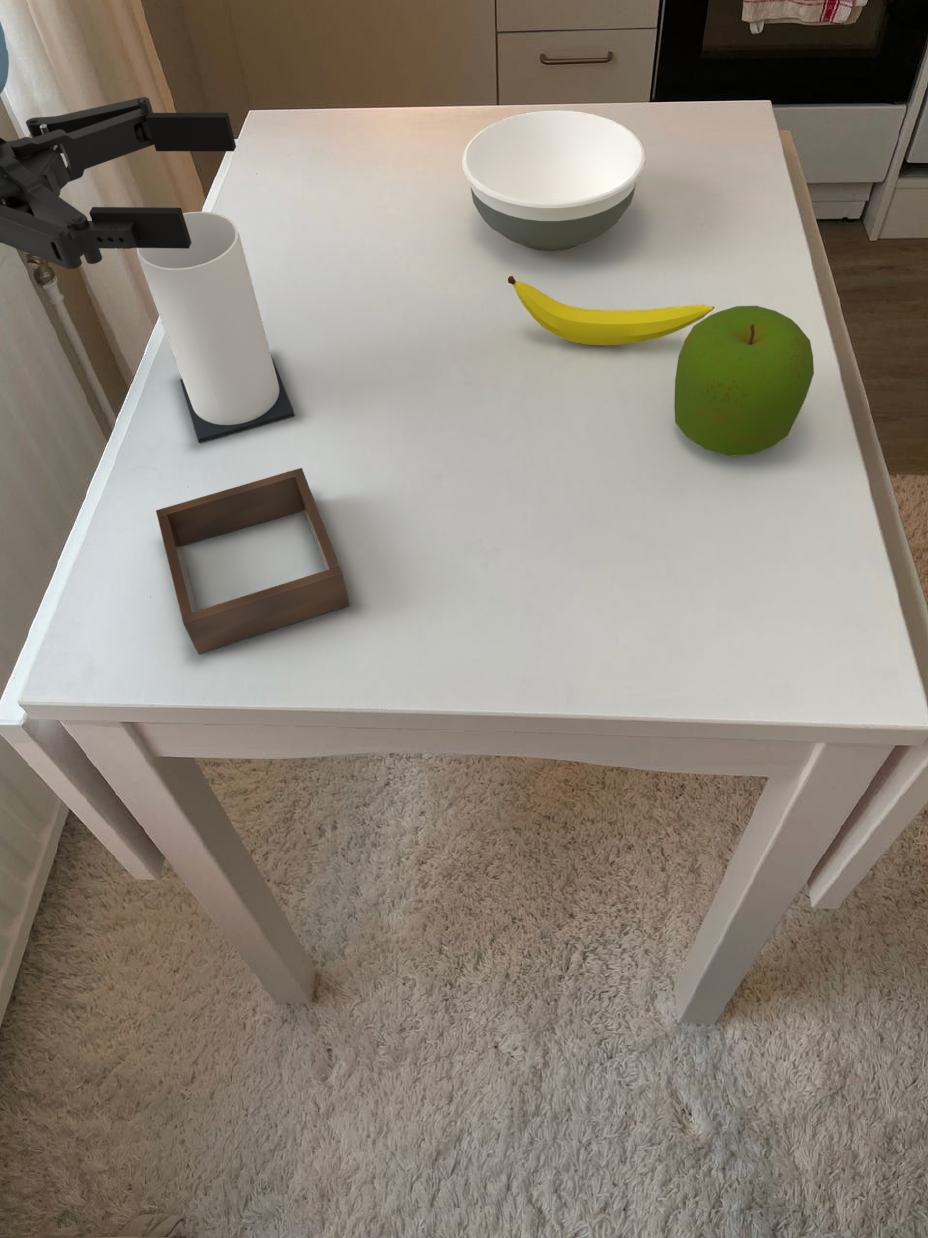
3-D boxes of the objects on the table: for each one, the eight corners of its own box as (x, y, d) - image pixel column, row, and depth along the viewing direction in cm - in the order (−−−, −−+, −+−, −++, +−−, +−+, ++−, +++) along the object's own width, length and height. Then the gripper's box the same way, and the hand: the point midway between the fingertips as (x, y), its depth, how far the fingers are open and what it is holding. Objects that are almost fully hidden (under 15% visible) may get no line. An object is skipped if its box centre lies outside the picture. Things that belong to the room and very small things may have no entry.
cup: (287, 367, 91) (249, 211, 78) (268, 426, 86) (224, 270, 73) (204, 365, 92) (153, 210, 79) (181, 423, 87) (122, 268, 74)
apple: (773, 486, 80) (804, 383, 71) (650, 449, 83) (666, 347, 74) (808, 403, 85) (841, 299, 77) (692, 372, 89) (711, 269, 80)
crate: (198, 654, 72) (183, 623, 69) (170, 542, 79) (155, 510, 76) (350, 605, 74) (342, 573, 71) (310, 501, 81) (301, 467, 78)
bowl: (450, 196, 108) (446, 123, 102) (609, 171, 110) (615, 97, 103) (485, 292, 97) (482, 217, 91) (661, 263, 99) (671, 187, 92)
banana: (705, 361, 89) (716, 303, 84) (506, 343, 93) (505, 286, 87) (706, 341, 91) (717, 283, 86) (511, 324, 94) (510, 267, 89)
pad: (199, 443, 86) (197, 439, 86) (181, 383, 91) (179, 379, 91) (295, 416, 88) (294, 412, 87) (272, 358, 93) (271, 354, 93)
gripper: (23, 142, 84) (257, 142, 82) (-102, 316, 70) (178, 322, 68) (-15, 51, 78) (236, 49, 76) (-162, 221, 64) (144, 223, 61)
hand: (209, 177), depth 72 cm, fingers open, 13 cm apart
